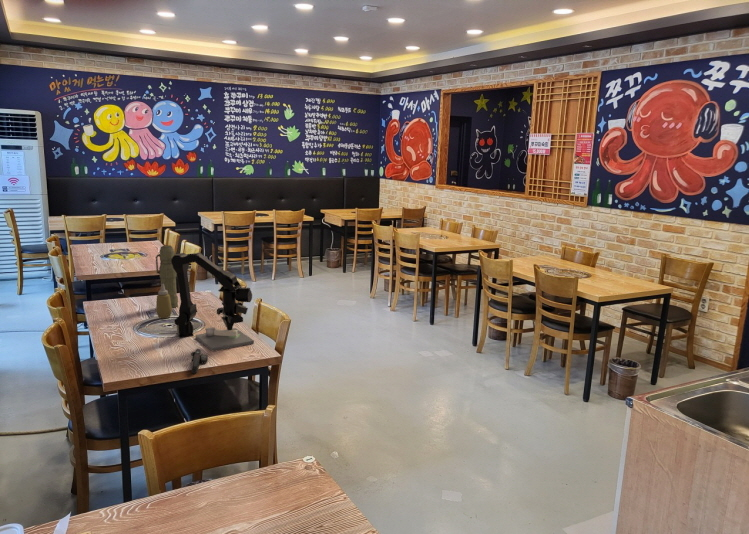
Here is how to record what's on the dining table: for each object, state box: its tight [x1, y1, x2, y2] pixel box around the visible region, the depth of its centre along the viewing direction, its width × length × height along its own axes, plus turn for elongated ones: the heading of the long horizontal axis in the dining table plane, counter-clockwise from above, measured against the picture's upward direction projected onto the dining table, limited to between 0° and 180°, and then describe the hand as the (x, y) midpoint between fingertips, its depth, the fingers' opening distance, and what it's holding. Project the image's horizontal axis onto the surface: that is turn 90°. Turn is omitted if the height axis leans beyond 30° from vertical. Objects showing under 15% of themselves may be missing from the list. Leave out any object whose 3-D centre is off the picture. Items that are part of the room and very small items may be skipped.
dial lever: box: [205, 326, 238, 337], centre depth 267 cm, size 15×4×3 cm, turn 82°
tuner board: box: [195, 327, 255, 352], centre depth 265 cm, size 20×22×2 cm
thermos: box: [155, 244, 179, 309], centre depth 315 cm, size 9×12×35 cm
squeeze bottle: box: [155, 283, 173, 319], centre depth 298 cm, size 8×8×18 cm
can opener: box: [190, 348, 209, 375], centre depth 233 cm, size 18×7×6 cm, turn 8°
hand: (230, 332), depth 269 cm, fingers closed
